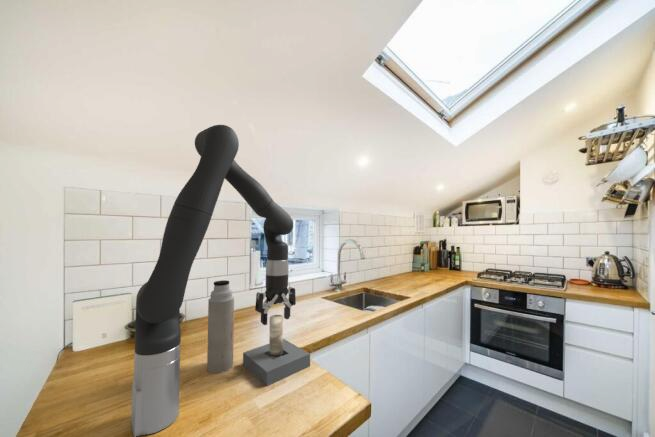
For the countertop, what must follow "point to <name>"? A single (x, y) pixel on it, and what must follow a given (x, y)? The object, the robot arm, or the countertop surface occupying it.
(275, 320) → the ash peg
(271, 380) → the gray board
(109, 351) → the countertop surface
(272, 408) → the countertop surface
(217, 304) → the thermos bottle
